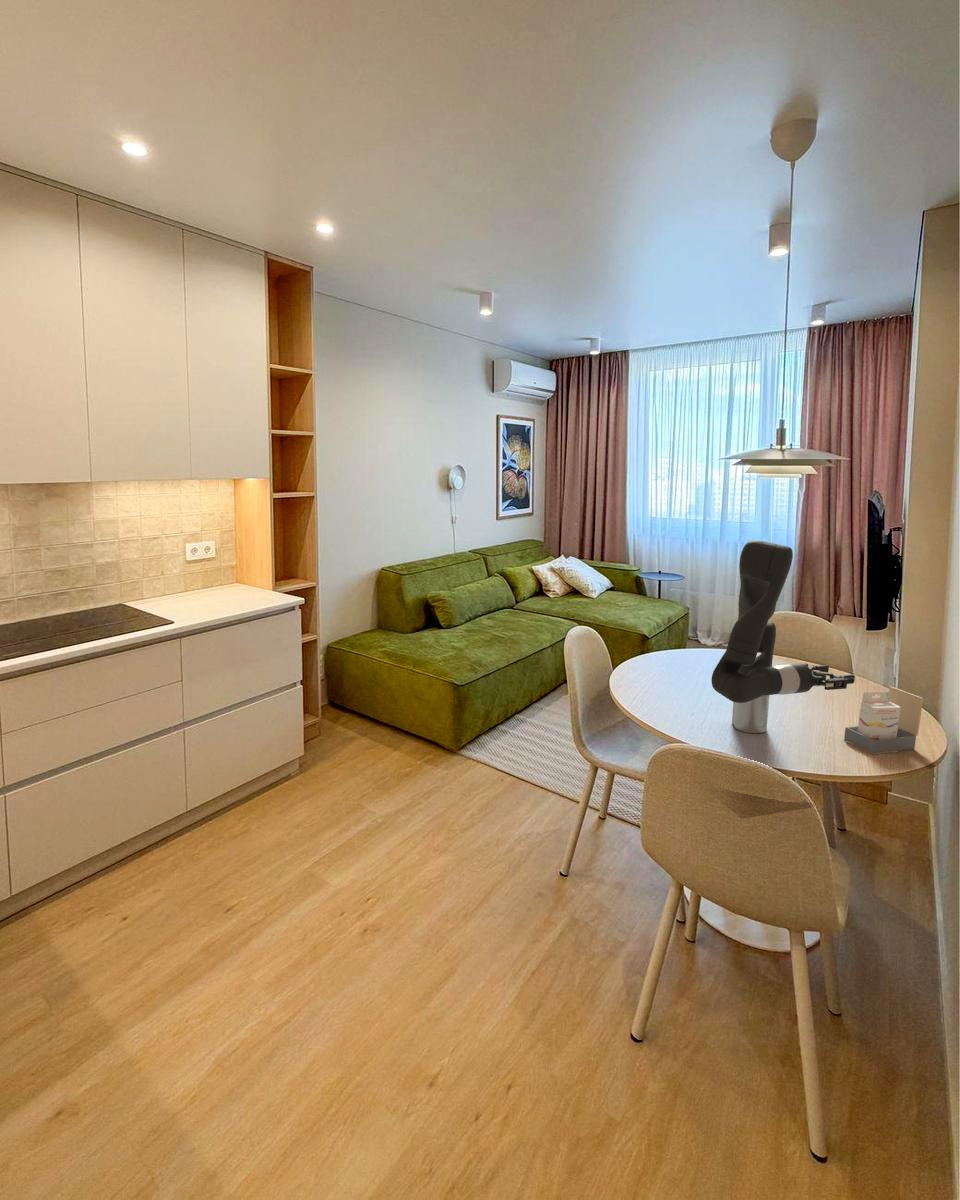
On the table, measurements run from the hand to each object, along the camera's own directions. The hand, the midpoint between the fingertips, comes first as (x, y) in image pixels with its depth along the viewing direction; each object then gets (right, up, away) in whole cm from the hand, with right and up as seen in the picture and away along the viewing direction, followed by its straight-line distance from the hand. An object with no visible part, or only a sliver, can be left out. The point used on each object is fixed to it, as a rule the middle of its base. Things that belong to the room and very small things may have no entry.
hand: (840, 673), depth 164 cm
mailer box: (+19, -22, +13) cm, 32 cm away
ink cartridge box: (+18, -22, +13) cm, 31 cm away
